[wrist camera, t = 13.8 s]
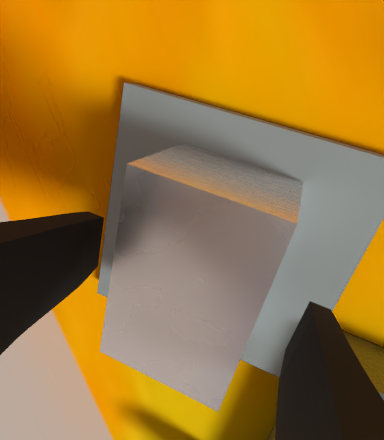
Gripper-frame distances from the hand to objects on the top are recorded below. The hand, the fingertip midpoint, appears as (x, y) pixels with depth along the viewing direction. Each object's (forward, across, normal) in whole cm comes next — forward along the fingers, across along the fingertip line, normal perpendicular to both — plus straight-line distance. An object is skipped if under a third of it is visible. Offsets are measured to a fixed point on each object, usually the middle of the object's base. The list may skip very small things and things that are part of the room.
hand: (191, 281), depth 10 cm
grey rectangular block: (+3, 0, 0) cm, 3 cm away
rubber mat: (+3, 0, 0) cm, 3 cm away
